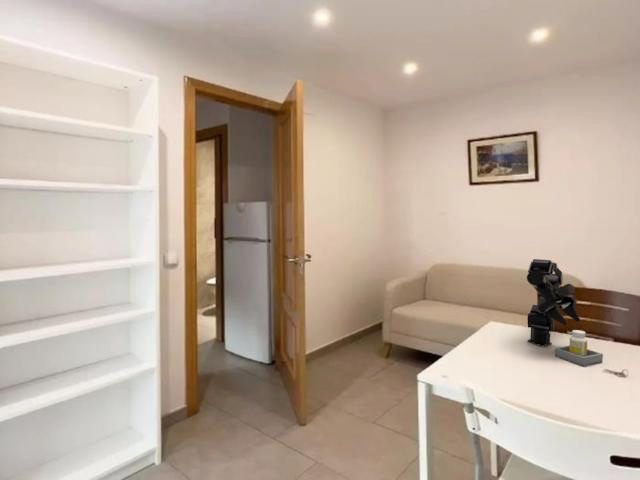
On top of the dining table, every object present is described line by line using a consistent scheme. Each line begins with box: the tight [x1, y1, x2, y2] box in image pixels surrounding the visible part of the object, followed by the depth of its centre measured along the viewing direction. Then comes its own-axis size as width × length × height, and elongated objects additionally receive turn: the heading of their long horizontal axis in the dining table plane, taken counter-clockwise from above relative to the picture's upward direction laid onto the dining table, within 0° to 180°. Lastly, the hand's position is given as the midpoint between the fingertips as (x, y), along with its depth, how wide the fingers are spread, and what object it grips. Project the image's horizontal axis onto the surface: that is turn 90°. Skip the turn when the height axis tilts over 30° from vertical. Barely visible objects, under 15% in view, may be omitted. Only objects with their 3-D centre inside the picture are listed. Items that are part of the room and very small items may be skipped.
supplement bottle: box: [569, 329, 588, 357], centre depth 142 cm, size 5×5×10 cm
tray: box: [554, 344, 604, 367], centre depth 142 cm, size 11×11×3 cm
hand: (572, 323), depth 143 cm, fingers open, 9 cm apart
